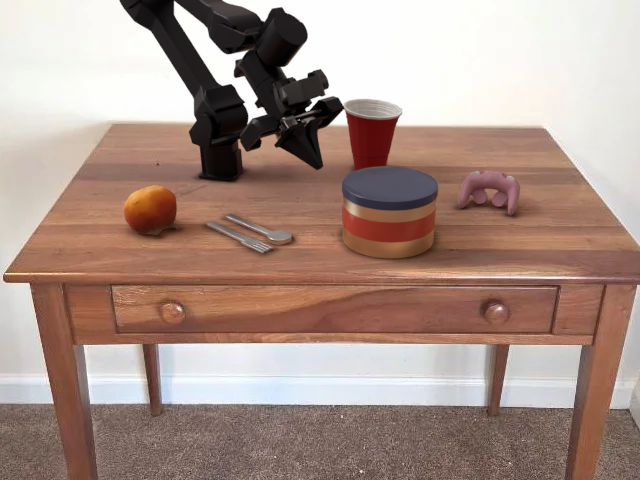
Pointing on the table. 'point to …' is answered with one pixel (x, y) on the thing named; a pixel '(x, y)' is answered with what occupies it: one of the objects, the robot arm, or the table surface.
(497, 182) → the video game controller
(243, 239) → the fork
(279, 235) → the spoon
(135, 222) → the fruit
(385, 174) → the tin
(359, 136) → the plastic cup
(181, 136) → the table surface
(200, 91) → the robot arm
